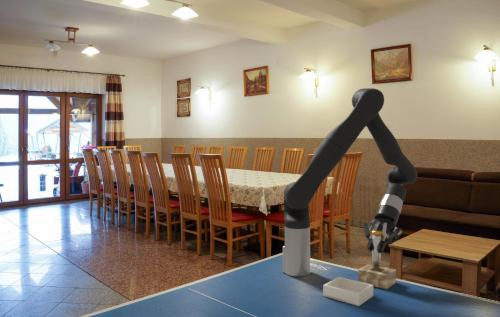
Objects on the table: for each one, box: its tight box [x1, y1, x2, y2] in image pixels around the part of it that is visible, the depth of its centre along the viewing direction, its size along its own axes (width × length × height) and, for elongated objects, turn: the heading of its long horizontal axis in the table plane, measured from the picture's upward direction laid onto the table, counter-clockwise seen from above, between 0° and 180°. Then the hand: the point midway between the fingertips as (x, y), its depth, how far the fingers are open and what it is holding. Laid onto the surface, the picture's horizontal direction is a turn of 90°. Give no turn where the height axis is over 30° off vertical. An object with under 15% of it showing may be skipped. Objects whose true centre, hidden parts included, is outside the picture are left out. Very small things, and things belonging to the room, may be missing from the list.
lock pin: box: [371, 229, 382, 268], centre depth 141 cm, size 3×3×12 cm
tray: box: [322, 276, 374, 307], centre depth 130 cm, size 12×10×4 cm
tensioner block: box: [357, 263, 397, 290], centre depth 142 cm, size 10×8×4 cm
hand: (374, 251), depth 140 cm, fingers closed on lock pin, 2 cm apart
